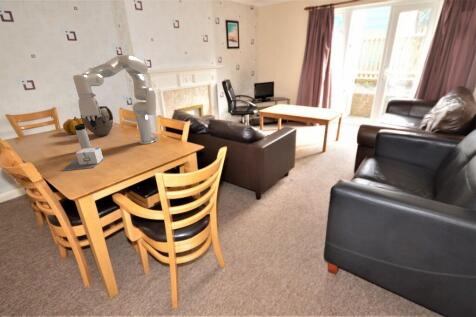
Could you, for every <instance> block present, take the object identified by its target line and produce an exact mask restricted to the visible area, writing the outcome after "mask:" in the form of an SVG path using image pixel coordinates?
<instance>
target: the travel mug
mask: <svg viewBox="0 0 476 317" xmlns="http://www.w3.org/2000/svg"><path fill="white" fill-rule="evenodd" d="M75 129H76V133H77V134H76V136H77V139H78V142H79V145H80V150H81V149H85V148H92V146H91V143H90V138H89V135H88V133H87V130H86V128H85V124H79V125H76V126H75Z"/></svg>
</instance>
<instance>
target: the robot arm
mask: <svg viewBox="0 0 476 317" xmlns="http://www.w3.org/2000/svg"><path fill="white" fill-rule="evenodd" d="M148 69H149V68H148V65H147V63H146V62H145V61H143V60H141V59H140V58H137V57H135V56H133V55H130V54H120V55H116V56H114V57H113V58H111V59H110V60H107V61H105V62H104V63H102V64H99V65H97V66H94V67H91V68H89V69H87V70H85V71H83V73H81V74H75V75H73V77H72V79H73V81H74V82H73V83H74V87H75V90H76V93H77V96H78V100H77V102H78V109H79V112H80V113H81V114H80V116H81V115H82V118H86V119H88V120H89V121H90V124H91V126H92V127H96V126H97V122H96V119H97V118H98V117H100V116H101V114H100V113H101V111H100V107H99V106H100V105H99V102H98V100H97V98H96V93H93V89H92V87H100V86H102V85H103V84H104V83H105V79H106V78H111V77H113V76H116V75H117V74H119V73H120V72H122V71H123V70H125V71H126V73H127V74H129V76H130V77H131V79H132V82H133V94H134V95H133V96H134V98H135V99H136V100H138V102H135V103H134V104H133V106H132V111H133V114H134V116H135V119H136V123H137V127H138V133H139V134H138V135H139V137H140V139H139V141H138V143H139V144H142V145H149V144H153V143H154V142H156V140H159V139H160V137H159V136H157V135H154V134H153V130H152V124H151V119H150V117H149V116H154V115H155V113H156V110H157V101H156V100H157V99H156V98H157V97H156V92H155V90H154V88H152V87H150V86H147V83H146V78H145V77H144V75H145V74H147V73H148V71H149V70H148ZM91 116H92V117H91ZM92 118H93V119H92Z"/></svg>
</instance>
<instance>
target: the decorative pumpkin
mask: <svg viewBox="0 0 476 317" xmlns="http://www.w3.org/2000/svg"><path fill="white" fill-rule="evenodd" d="M79 124H83V122H82V119H81V117H79V118H78V117H77V116H74V118H73V119H72V118H69V119H66V121H64V122H63V124H62V129H63V130H64V132H65V133H67V134H70V135H71V134H75V135H77V133H76V129H75V126H76V125H79ZM85 128H86V131H87V130H89V129H88V128H87V127H86V126H85Z"/></svg>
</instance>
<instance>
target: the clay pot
mask: <svg viewBox="0 0 476 317" xmlns="http://www.w3.org/2000/svg"><path fill="white" fill-rule="evenodd" d="M99 107H100V111H101V113H100V114H101V116H100V117H98V118H97V119H96V122H97V126H96V127H92V126H91V124H90V121H89V120H88V119H86V118H82V115H81V113H80V118H81V119H82V122H83V124H85V126H86V127H87V128H88V129H87V130H89V131H90V132H91V133H93V134H94V135H96V136H98V137H103V136H106V135H108V134H110V133H111V131H112V129H113V123H114V114H113V112H112V110H111V109H110V108H109V107H108V106H107V105H104V106H103V105H101V106H100V105H99ZM91 117H92V116H91ZM92 119H93V118H92Z"/></svg>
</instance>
